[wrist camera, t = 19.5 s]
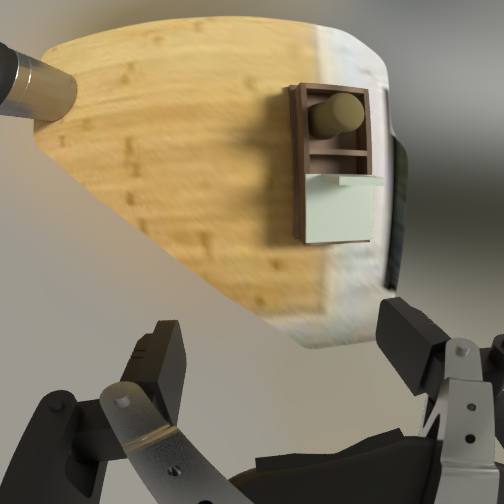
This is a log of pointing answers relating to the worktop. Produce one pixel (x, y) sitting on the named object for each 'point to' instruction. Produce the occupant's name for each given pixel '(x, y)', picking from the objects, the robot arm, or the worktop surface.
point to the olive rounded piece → (335, 116)
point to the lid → (339, 207)
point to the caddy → (324, 147)
